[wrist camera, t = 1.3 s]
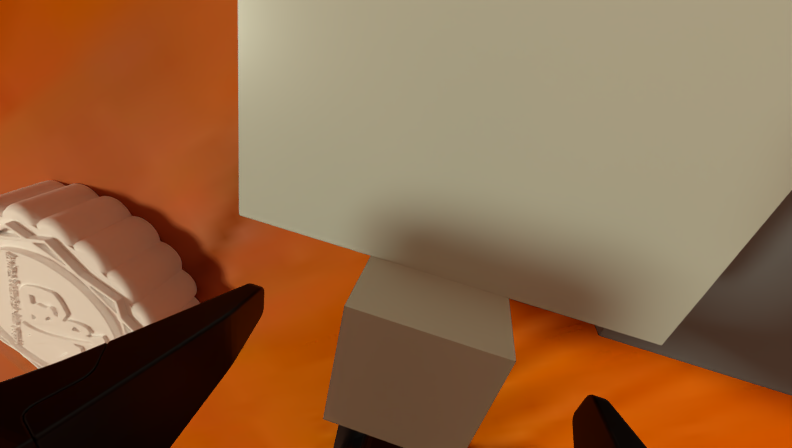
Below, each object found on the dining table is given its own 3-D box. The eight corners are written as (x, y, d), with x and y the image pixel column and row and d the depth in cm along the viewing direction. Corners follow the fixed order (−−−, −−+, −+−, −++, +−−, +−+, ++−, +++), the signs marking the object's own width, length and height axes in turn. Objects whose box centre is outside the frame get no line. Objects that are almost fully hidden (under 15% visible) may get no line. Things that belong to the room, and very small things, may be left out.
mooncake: (186, 384, 23) (139, 436, 20) (21, 292, 23) (-53, 332, 19) (229, 259, 17) (174, 306, 14) (9, 131, 17) (-100, 151, 14)
